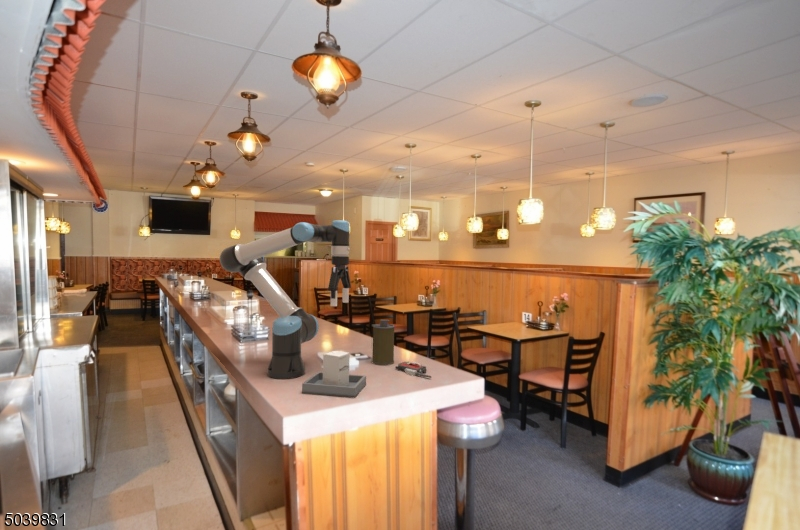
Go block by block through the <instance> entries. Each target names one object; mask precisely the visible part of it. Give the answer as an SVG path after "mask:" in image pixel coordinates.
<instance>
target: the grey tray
mask: <svg viewBox="0 0 800 530" xmlns="http://www.w3.org/2000/svg"><path fill="white" fill-rule="evenodd" d="M366 385H367V375H361V374H351V373H349V385H348V386H336V385H324V384H323V371H322V372H321V371H317V372H316V373H314V374H313V375H311V376H310V377H309V378H308V379H307V380H305V381H304V382H302V384H301V387H302V388H301V393H302V394H305V395H306V394H309V395H319V396H329V397H330V396H331V397H340V398H344V397H345V398H351V397H354V399H355V398H357V396H358V395H359V394H360V393H361V392H362V390H363V389H364V388H365V387H364V386H366ZM359 392H360V393H359Z"/></svg>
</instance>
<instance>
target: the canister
mask: <svg viewBox="0 0 800 530" xmlns="http://www.w3.org/2000/svg"><path fill="white" fill-rule="evenodd" d="M389 322H390V320H389V319H380V322H379V323H376V324H372V332H371V340H370V341H371V342H370V343H372V360H371V363H372V362H373V363H374V364H373V363H372V364H373V365H377V364H378V365H377V366H389V365H388V364H390V365H392V364H394V363H395V361H394V359H395V358H394V354H395V351H394V350H395V325H394V324H389Z"/></svg>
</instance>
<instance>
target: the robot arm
mask: <svg viewBox="0 0 800 530" xmlns="http://www.w3.org/2000/svg"><path fill="white" fill-rule="evenodd" d="M307 242H310V243H331V255H332V257H331V265H333V266H332V267H331V272H330V278H329V282H328V287H327V289H328V291H330V307H337V306H338V286H339V283H340V280H341V284H342V287H343V288H342V295H341V296H342V298H341V299H342V303H345V304H348V303H349V301H350V299H349V298H350V297H349V296H350V294H349V293H350V292H349V291H350V289H351V288H352V284H351V279H350V273H349V264H350V256H349V254H350V250H351V248H350V222H349V221H348V220H343V219H342V220H339V219H337V220H335V219H334V220H333V221H332V223H331V224H329V225H328V224H325V225H323V224H314V223H309V222H303V221H301V222H298V223H296V224H295V225H294V226H293V227H290V228H287V229H283V230H280V231H278V232H275V233H273V234H270V235H267V236H265V237H261V238H259V239H256V240H252V241H249V242H248V243H244V244H242V243H237V244H234V245H230V246H228V247H226V248H224V249H223V250H222V251H221V252H220V255H219V263H220V266H221V267H222V269H224V271H226V272H230V273H239V274H240V275H241V276H242V277H243V278H244V280H245V281H250V282H251V283H252V284H253V286H254V287H255V288H256V289H257V290H258V292H259V293H260V294H261V295H262V296H263V298H264V299H265V300H266V301H267V303H268V304H269V305H270V307H271V308H272V309H273V311H275V312H276V315H278V316H279V317H277V318H275V319H274V320H273V323H272V327H271V331H272V335H271V336H272V338H271V340H272V343H271V344H272V345H271V347H272V351H271V352H272V353H271V354H272V355H271V358H270V361H269V365H268V368H267V376H268V377H269V378H271V379H272V378H273V379H277V380H280V379H281V380H286V379H287V380H288V379H295V378H298V377H301V376H303V375H305V374H306V366H305V363H304V361H303V357H302V344H304V343H306V342H309V341H311V340H312V339H314V338H315V337H316V336H317V334H318V332H319V329H320V328H319V327H320V325H319V321H318V319H317V318H316V316H314V315H313V314H309V313H307V311H305V309H304V308H303V307H298V306H297V305H296V304H295V302H294V301H293V300H292V299H291V298H290V296H289V295H288V294H287V292H285V290H284V289H283V288H282V287H281V286H280V284H279V283H278V282H277V280H276V279H275V278H274V277H273V276H272V275H271V274H270V272H269V271H268V270H267V263H266V262H265V257H266V256H270V255H272V254H275V253H278V252H281V251H284V250H287V249H289V248H292V247H294V246H295V247H296V246H297V245H301V244H304V243H307Z"/></svg>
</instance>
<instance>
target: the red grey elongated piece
mask: <svg viewBox="0 0 800 530" xmlns="http://www.w3.org/2000/svg"><path fill="white" fill-rule="evenodd" d="M395 369H396V370H397V371H399V370H401V371H400V372H403V371H405V372H404V373H407V374H406V375H408V374H409V376H412V375H413V376H412V377H415V375H416V376H417V377H418V376H419V377H423V378H429V379H432V375H429V374H425V373H427V371H428V370H427V366H425V365H423V364H422V363H421V362H417V361H411V362H410V361H402V362H400V363H398V364H397V366H395Z"/></svg>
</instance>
